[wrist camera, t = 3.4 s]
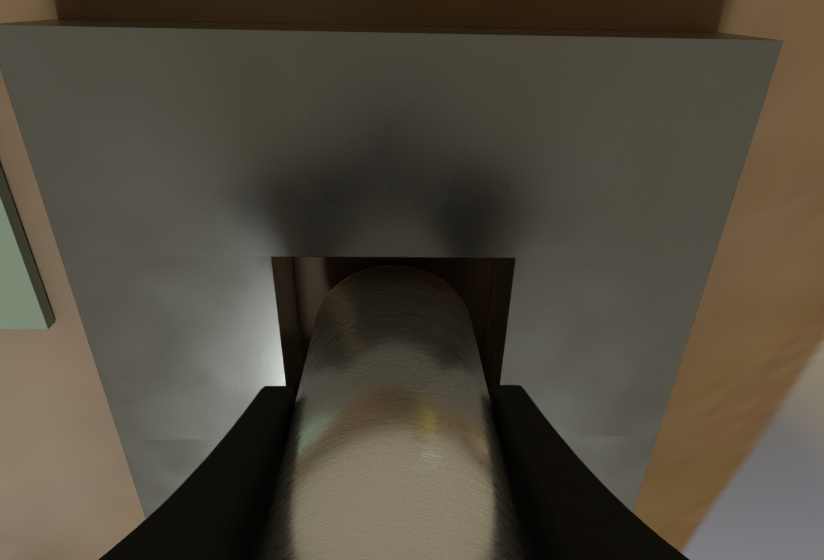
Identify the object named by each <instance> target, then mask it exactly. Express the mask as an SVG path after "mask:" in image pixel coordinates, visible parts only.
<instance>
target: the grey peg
mask: <svg viewBox="0 0 824 560" xmlns="http://www.w3.org/2000/svg"><path fill="white" fill-rule="evenodd" d="M258 560H528V559H527V555H526V550H525V546H524V542H523V538H522V533H521V529H520V525H519V521H518V516H517V512H516V508H515V504H514V500H513V495H512V491H511V487H510V483H509V478H508V474H507V470H506V466H505V461H504V457H503V453H502V449H501V444H500V440H499V436H498V432H497V427H496V423H495V419H494V415H493V411H492V406H491V402H490V398H489V394H488V389H487V385H486V381H485V377H484V372H483V368H482V364H481V360H480V355H479V351H478V347H477V343H476V339H475V334H474V330H473V326H472V322H471V317H470V314H469V311H468V308H467V306H466V304H465V302H464V301H463V299H462V298H461V296H460V295H459V293H458V292H457V291H456V290H455V289H454V288H453V287H452V286H451V285H449V284H448V283H447V282H446V281H445V280H443V279H441V278H440V277H438V276H436V275H435V274H432V273H430V272H428V271H426V270H422V269H419V268H416V267H411V266H405V265H382V266H376V267H371V268H368V269H364V270H361V271H359V272H357V273H354V274H352V275H350V276H349V277H347V278H345V279H344V280H342V281H341V282H340V283H339V284H337V285H336V286H335V287H334V288H333V289H332V290H331V291H330V292H329V293H328V294H327V296H326V297H325V299H324V300H323V302H322V304H321V306H320V308H319V310H318V313H317V316H316V319H315V323H314V328H313V332H312V336H311V340H310V344H309V348H308V353H307V357H306V361H305V365H304V369H303V373H302V377H301V382H300V386H299V390H298V394H297V398H296V402H295V407H294V411H293V415H292V419H291V423H290V427H289V432H288V436H287V440H286V444H285V448H284V452H283V456H282V461H281V465H280V469H279V473H278V477H277V481H276V486H275V490H274V494H273V498H272V502H271V506H270V511H269V515H268V519H267V523H266V527H265V531H264V535H263V540H262V544H261V548H260V552H259V556H258Z"/></svg>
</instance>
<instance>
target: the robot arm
mask: <svg viewBox="0 0 824 560" xmlns="http://www.w3.org/2000/svg"><path fill="white" fill-rule="evenodd" d="M293 411H294V400H293V391H292V386H264V387H263V388H262V389H261V390H260V391H259V393H258V394H257V395H256V397H255V398H254V399H253V401H252V402H251V403H250V405H249V406H248V407H247V409H246V410H245V411H244V413H243V414H242V415H241V416H240V418H239V419H238V420H237V421H236V423H235V424H234V425H233V427H232V428H231V429H230V430H229V431H228V433H227V434H226V435H225V436H224V437H223V439H222V440H221V441H220V442H219V443H218V445H217V446H216V447H215V448H214V449H213V451H212V452H211V453H210V454H209V455H208V456H207V457H206V459H205V460H204V461H203V462H202V463H201V464H200V465H199V466H198V467H197V468H196V469H195V471H194V472H193V473H192V474H191V475H190V476H189V477H188V478H187V479H186V480H185V481H184V482H183V483H182V485H181V486H180V487H179V488H178V489H177V490H176V491H175V492H174V493H173V494H172V495H171V496H170V497H169V498H168V499H167V500H166V501H165V502H164V503H163V504H162V505H161V506H159V507H158V508H157V509H156V510H155V511H154V512H153V513H152V514H151V515H150V516H149V517H148V518H147V519H146V520H144V521H143V522H142V523H141V524H140V525H139V526H138V527H137V528H136V529H134V530H133V531H132V532H131V533H130V534H129V535H127V536H126V537H125V538H124V539H123V540H122V541H120V542H119V543H118V544H117V545H116V546H115V547H113V548H112V549H111V550H110V551H109V552H107V553H106V554H105V555H104V556H102V557H101V558H100V559H99V560H258V556H259V552H260V548H261V544H262V540H263V535H264V531H265V527H266V523H267V519H268V515H269V511H270V506H271V502H272V498H273V494H274V490H275V486H276V481H277V477H278V473H279V469H280V465H281V461H282V456H283V452H284V448H285V444H286V440H287V436H288V432H289V427H290V423H291V419H292V415H293ZM492 411H493V415H494V419H495V423H496V427H497V432H498V436H499V440H500V444H501V449H502V453H503V457H504V461H505V466H506V470H507V474H508V478H509V483H510V487H511V491H512V495H513V500H514V504H515V508H516V512H517V516H518V521H519V525H520V529H521V533H522V538H523V542H524V546H525V550H526V555H527V559H528V560H689V559H688V558H686V557H685V556H684V555H683V554H681V553H680V552H679V551H678V550H676V549H675V548H674V547H673V546H671V545H670V544H669V543H667V542H666V541H665V540H664V539H662V538H661V537H660V536H659V535H658V534H656V533H655V532H654V531H653V530H652V529H650V528H649V527H648V526H647V525H646V524H645V523H643V522H642V521H641V520H640V519H639V518H638V517H637V516H636V515H635V514H634V513H632V512H631V511H630V510H629V509H628V508H627V507H626V506H625V505H624V504H623V503H622V502H621V501H620V500H619V499H618V498H617V497H616V496H615V495H614V494H613V493H612V492H611V491H610V490H609V489H608V488H607V487H606V486H605V485H604V484H603V483H602V482H601V481H600V480H599V479H598V478H597V477H596V476H595V475H594V474H593V473H592V472H591V471H590V470H589V468H588V467H587V466H586V465H585V464H584V463H583V462H582V461H581V460H580V458H579V457H578V456H577V455H576V454H575V453H574V451H573V450H572V449H571V448H570V447H569V446H568V444H567V443H566V442H565V441H564V440H563V438H562V437H561V436H560V435H559V434H558V432H557V431H556V430H555V429H554V427H553V426H552V425H551V424H550V422H549V421H548V420H547V419H546V417H545V416H544V415H543V413H542V412H541V411H540V409H539V408H538V407H537V405H536V404H535V403H534V401H533V400H532V399H531V397H530V396H529V395H528V393H527V392H526V391H525V389H524V388H523V387H522V386H521V385H494V389H493V397H492Z"/></svg>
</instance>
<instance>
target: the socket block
mask: <svg viewBox="0 0 824 560" xmlns="http://www.w3.org/2000/svg"><path fill="white" fill-rule="evenodd" d="M782 43H783V40H775V39H767V38H758V37H750V36H742V35H734V34H726V33H713V32H664V31H615V30H566V29H517V28H467V27H418V26H369V25H320V24H270V23H221V22H172V21H123V20H74V19H53V20H40V21H27V22H14V23H2V24H0V70H1V73H2V76H3V79H4V82H5V85H6V88H7V91H8V94H9V97H10V101H11V104H12V107H13V110H14V113H15V116H16V119H17V122H18V125H19V128H20V131H21V135H22V138H23V141H24V144H25V147H26V150H27V153H28V156H29V159H30V162H31V165H32V169H33V172H34V175H35V178H36V181H37V184H38V187H39V190H40V193H41V196H42V200H43V203H44V206H45V209H46V212H47V215H48V218H49V221H50V224H51V227H52V230H53V234H54V237H55V240H56V243H57V246H58V249H59V252H60V255H61V258H62V261H63V264H64V268H65V271H66V274H67V277H68V280H69V283H70V286H71V289H72V292H73V295H74V299H75V302H76V305H77V308H78V311H79V314H80V317H81V320H82V323H83V326H84V329H85V333H86V336H87V339H88V342H89V345H90V348H91V351H92V354H93V357H94V360H95V364H96V367H97V370H98V373H99V376H100V379H101V382H102V385H103V388H104V391H105V394H106V398H107V401H108V404H109V407H110V410H111V413H112V416H113V419H114V422H115V425H116V428H117V432H118V435H119V438H120V441H121V444H122V447H123V450H124V453H125V456H126V459H127V463H128V466H129V469H130V472H131V475H132V478H133V481H134V484H135V487H136V490H137V493H138V497H139V500H140V503H141V506H142V509H143V512H144V515H145V518H146V519H147V518H148V517H149V516H150V515H151V514H152V513H153V512H154V511H155V510H156V509H157V508H158V507H159V506H161V505H162V504H163V503H164V502H165V501H166V500H167V499H168V498H169V497H170V496H171V495H172V494H173V493H174V492H175V491H176V490H177V489H178V488H179V487H180V486H181V485H182V483H183V482H184V481H185V480H186V479H187V478H188V477H189V476H190V475H191V474H192V473H193V472H194V471H195V469H196V468H197V467H198V466H199V465H200V464H201V463H202V462H203V461H204V460H205V459H206V457H207V456H208V455H209V454H210V453H211V452H212V451H213V449H214V448H215V447H216V446H217V445H218V443H219V442H220V441H221V440H222V439H223V437H224V436H225V435H226V434H227V433H228V431H229V430H230V429H231V428H232V427H233V425H234V424H235V423H236V421H237V420H238V419H239V418H240V416H241V415H242V414H243V413H244V411H245V410H246V409H247V407H248V406H249V405H250V403H251V402H252V401H253V399H254V398H255V397H256V395H257V394H258V393H259V391H260V390H261V389H262V388H263V387H264V386H292V391H293V400H294V407H295V402H296V398H297V394H298V390H299V386H300V382H301V377H302V373H303V363H302V352H301V342H300V331H299V321H298V310H297V300H296V290H295V279H294V269H293V258H292V257H476V258H494V266H493V276H492V285H491V295H490V305H489V315H488V324H487V334H486V344H485V353H484V363H483V372H484V377H485V381H486V385H487V389H488V394H489V398H490V402H491V406H492V397H493V389H494V385H521V386H522V387H523V388H524V389H525V391H526V392H527V393H528V395H529V396H530V397H531V399H532V400H533V401H534V403H535V404H536V405H537V407H538V408H539V409H540V411H541V412H542V413H543V415H544V416H545V417H546V419H547V420H548V421H549V422H550V424H551V425H552V426H553V427H554V429H555V430H556V431H557V432H558V434H559V435H560V436H561V437H562V438H563V440H564V441H565V442H566V443H567V444H568V446H569V447H570V448H571V449H572V450H573V451H574V453H575V454H576V455H577V456H578V457H579V458H580V460H581V461H582V462H583V463H584V464H585V465H586V466H587V467H588V468H589V470H590V471H591V472H592V473H593V474H594V475H595V476H596V477H597V478H598V479H599V480H600V481H601V482H602V483H603V484H604V485H605V486H606V487H607V488H608V489H609V490H610V491H611V492H612V493H613V494H614V495H615V496H616V497H617V498H618V499H619V500H620V501H621V502H622V503H623V504H624V505H625V506H626V507H627V508H628V509H629V510H630V511H631V512H632V513H633V510H634V507H635V504H636V500H637V497H638V494H639V491H640V488H641V485H642V482H643V478H644V475H645V472H646V469H647V466H648V463H649V460H650V457H651V453H652V450H653V447H654V444H655V441H656V438H657V435H658V431H659V428H660V425H661V422H662V419H663V416H664V413H665V410H666V406H667V403H668V400H669V397H670V394H671V391H672V388H673V385H674V381H675V378H676V375H677V372H678V369H679V366H680V363H681V359H682V356H683V353H684V350H685V347H686V344H687V341H688V338H689V334H690V331H691V328H692V325H693V322H694V319H695V316H696V313H697V309H698V306H699V303H700V300H701V297H702V294H703V291H704V287H705V284H706V281H707V278H708V275H709V272H710V269H711V266H712V262H713V259H714V256H715V253H716V250H717V247H718V244H719V240H720V237H721V234H722V231H723V228H724V225H725V222H726V219H727V215H728V212H729V209H730V206H731V203H732V200H733V197H734V194H735V190H736V187H737V184H738V181H739V178H740V175H741V172H742V168H743V165H744V162H745V159H746V156H747V153H748V150H749V147H750V143H751V140H752V137H753V134H754V131H755V128H756V125H757V121H758V118H759V115H760V112H761V109H762V106H763V103H764V100H765V96H766V93H767V90H768V87H769V84H770V81H771V78H772V75H773V71H774V68H775V65H776V62H777V59H778V56H779V53H780V49H781V46H782Z"/></svg>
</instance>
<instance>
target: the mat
mask: <svg viewBox="0 0 824 560" xmlns="http://www.w3.org/2000/svg"><path fill="white" fill-rule="evenodd" d="M54 323H55V319H54V317H53V314H52V311H51V308H50V305H49V302H48V300H47V297H46V294H45V291H44V288H43V285H42V282H41V280H40V277H39V274H38V271H37V268H36V265H35V263H34V260H33V257H32V254H31V251H30V248H29V245H28V243H27V240H26V237H25V234H24V231H23V228H22V226H21V223H20V220H19V217H18V214H17V211H16V208H15V206H14V203H13V200H12V197H11V194H10V191H9V189H8V186H7V183H6V180H5V177H4V174H3V171H2V169H1V166H0V329H49V328H50V327H51V326H52V325H53V324H54Z"/></svg>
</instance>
